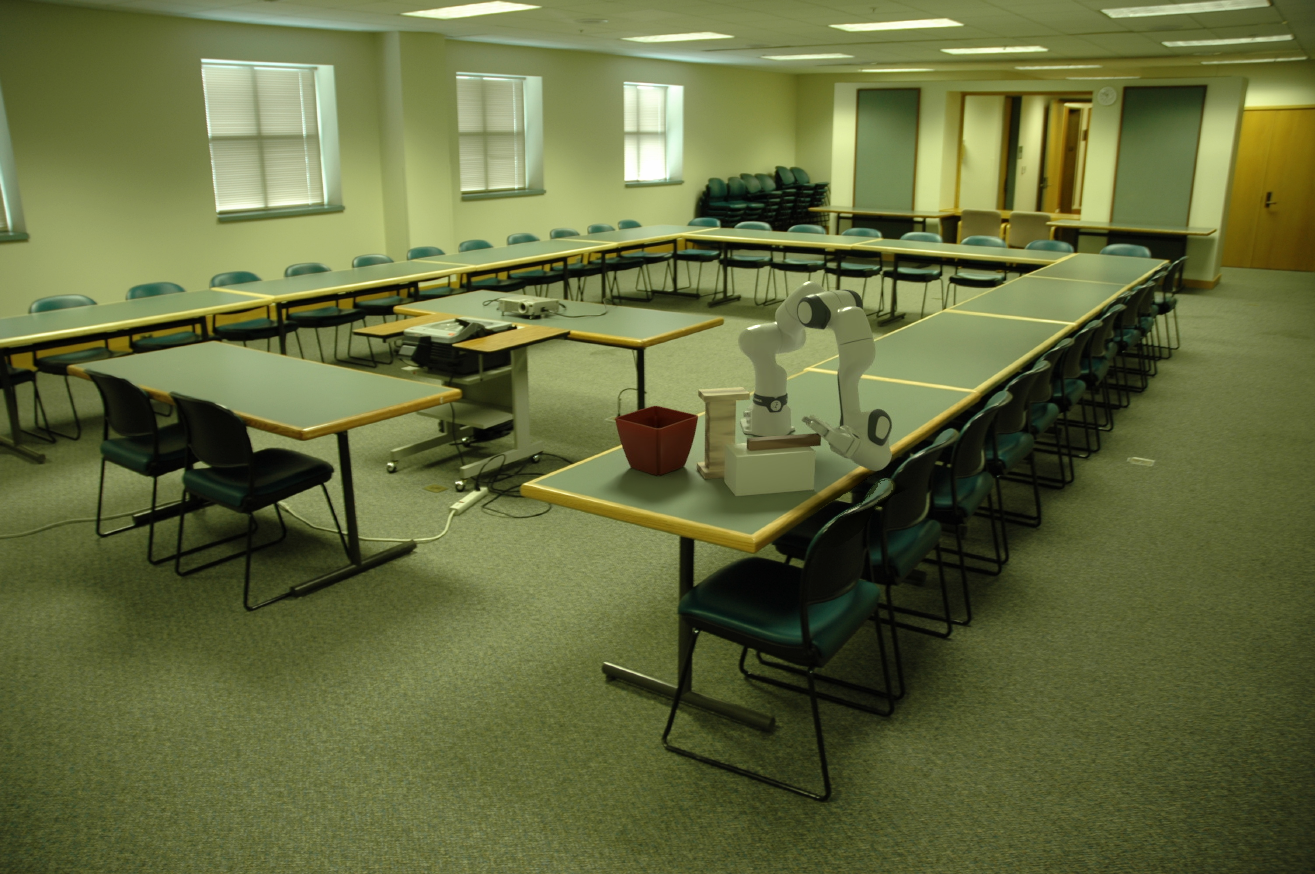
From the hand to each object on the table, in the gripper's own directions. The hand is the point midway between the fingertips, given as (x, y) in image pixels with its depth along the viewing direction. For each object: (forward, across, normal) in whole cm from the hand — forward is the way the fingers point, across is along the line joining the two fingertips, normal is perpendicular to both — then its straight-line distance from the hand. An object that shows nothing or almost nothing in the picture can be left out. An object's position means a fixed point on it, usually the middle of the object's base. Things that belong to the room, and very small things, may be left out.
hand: (806, 421), depth 271 cm
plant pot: (+25, -24, +37) cm, 51 cm away
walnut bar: (+2, 0, +10) cm, 10 cm away
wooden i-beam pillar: (+9, -15, +28) cm, 33 cm away
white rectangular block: (0, 0, +22) cm, 22 cm away
